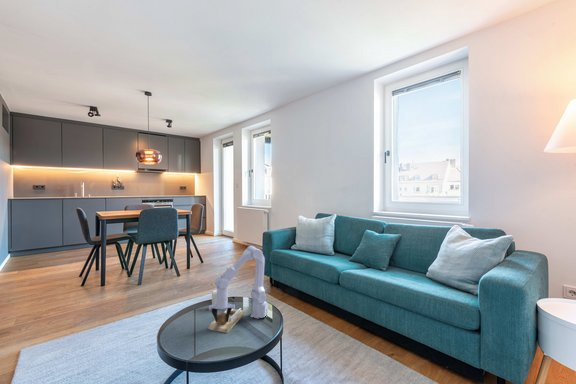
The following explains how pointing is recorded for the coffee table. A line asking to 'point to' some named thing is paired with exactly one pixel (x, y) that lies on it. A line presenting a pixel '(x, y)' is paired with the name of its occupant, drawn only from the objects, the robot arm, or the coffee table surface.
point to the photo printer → (214, 297)
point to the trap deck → (229, 324)
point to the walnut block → (222, 318)
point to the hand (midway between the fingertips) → (222, 320)
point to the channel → (234, 314)
